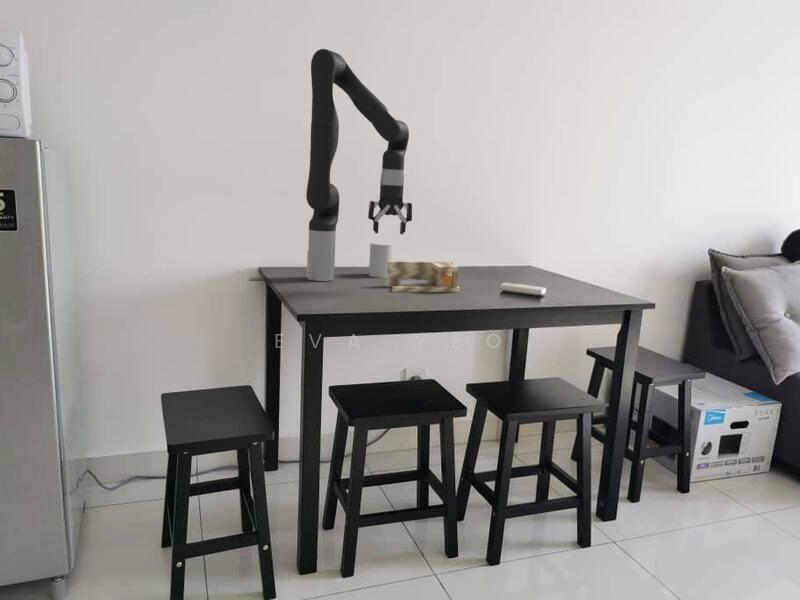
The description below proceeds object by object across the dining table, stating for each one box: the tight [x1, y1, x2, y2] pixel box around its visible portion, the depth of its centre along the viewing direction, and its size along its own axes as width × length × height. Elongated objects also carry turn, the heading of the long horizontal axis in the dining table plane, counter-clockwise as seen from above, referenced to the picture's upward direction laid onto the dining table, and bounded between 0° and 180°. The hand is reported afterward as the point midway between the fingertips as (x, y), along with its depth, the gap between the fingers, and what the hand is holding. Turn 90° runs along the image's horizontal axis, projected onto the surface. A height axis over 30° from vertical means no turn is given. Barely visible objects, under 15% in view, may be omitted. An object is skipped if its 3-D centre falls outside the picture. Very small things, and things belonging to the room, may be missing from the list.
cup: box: [368, 241, 393, 279], centre depth 232 cm, size 8×8×12 cm
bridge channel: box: [385, 260, 461, 293], centre depth 212 cm, size 23×10×8 cm, turn 105°
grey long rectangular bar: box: [398, 278, 434, 287], centre depth 212 cm, size 12×3×4 cm, turn 111°
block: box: [434, 274, 452, 287], centre depth 214 cm, size 5×5×5 cm
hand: (389, 233), depth 207 cm, fingers open, 8 cm apart
